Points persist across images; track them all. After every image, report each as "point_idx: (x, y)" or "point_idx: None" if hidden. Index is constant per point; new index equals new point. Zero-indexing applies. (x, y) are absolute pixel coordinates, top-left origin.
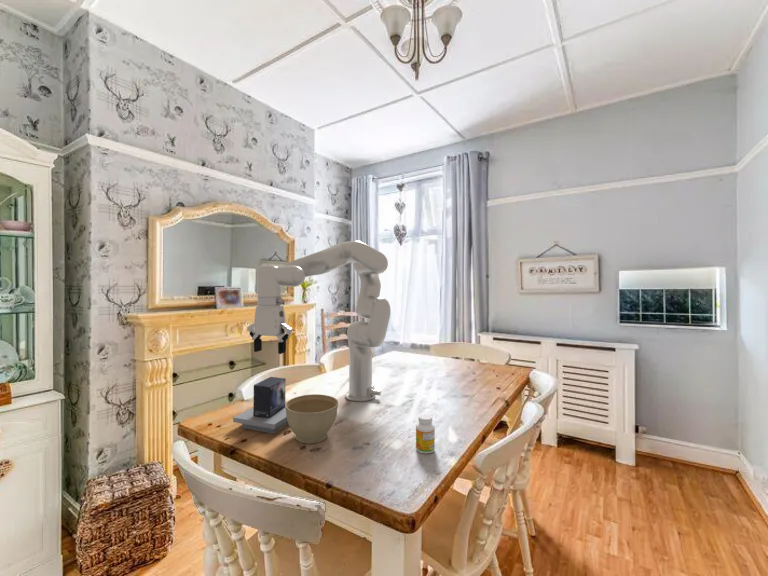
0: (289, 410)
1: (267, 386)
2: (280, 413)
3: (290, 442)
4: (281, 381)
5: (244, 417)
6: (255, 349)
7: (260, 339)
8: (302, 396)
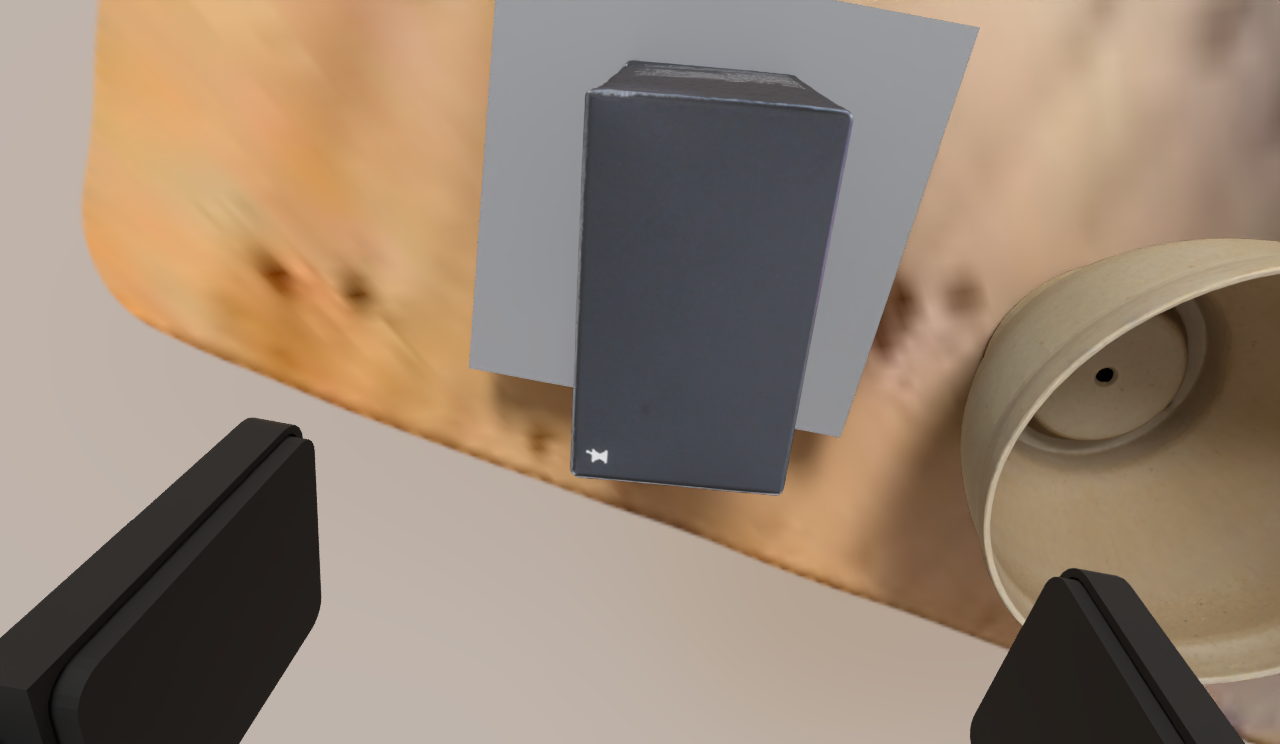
0: None
1: (750, 488)
2: None
3: (955, 441)
4: (829, 240)
5: (552, 356)
6: (279, 658)
7: (45, 712)
8: (1114, 336)
